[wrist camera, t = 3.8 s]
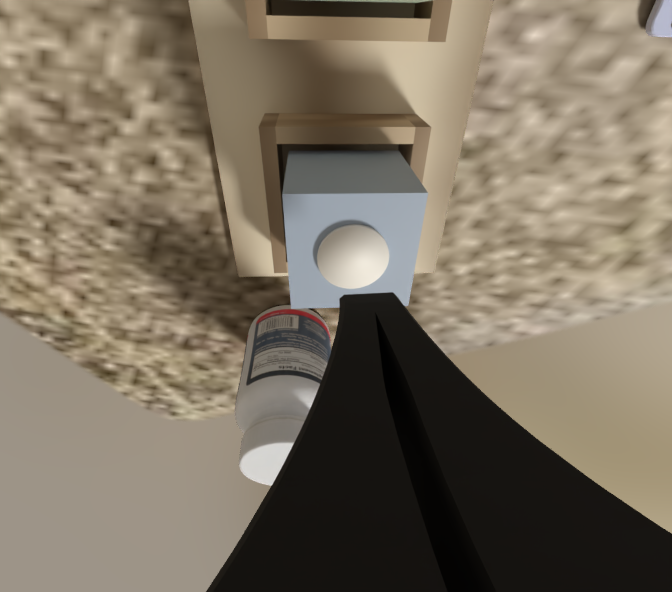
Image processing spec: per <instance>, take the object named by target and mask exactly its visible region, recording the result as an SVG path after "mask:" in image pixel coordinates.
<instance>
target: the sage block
mask: <svg viewBox="0 0 672 592" xmlns="http://www.w3.org/2000/svg"><path fill="white" fill-rule="evenodd" d="M306 1H350V2H393V3H419V2H425V1H432V0H306Z"/></svg>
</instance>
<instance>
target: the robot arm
mask: <svg viewBox="0 0 672 592" xmlns="http://www.w3.org/2000/svg"><path fill="white" fill-rule="evenodd" d="M671 23H672V0H656V2H655V4H654V6H653V9H652V11H651V13H650V16H649V18H648V20H647V23H646V33H647V34H648V35H649V36H652V37H672V27H671ZM339 304H340V314H339V321H338V326H337V331H336V335H335V339H334V343H333V346H332V350H331V354H330V357H329V360H328V363H327V366H326V369H325V372H324V374H323V377H322V380H321V383H320V386H319V388H318V391H317V393H316V396H315V398H314V401H313V403H312V406H311V408H310V410H309V413H308V415H307V417H306V419H305V421H304V424H303V426H302V428H301V430H300V432H299V434H298V436H297V438H296V440H295V442H294V444H293V446H292V448H291V450H290V452H289V454H288V456H287V458H286V460H285V462H284V464H283V466H282V468H281V470H280V471H279V473H278V475H277V477H276V479H275V481H274V482H273V484H272V486H271V488H270V490H269V491H268V493H267V495H266V496H265V498H264V500H263V501H262V503H261V505H260V507H259V508H258V510H257V512H256V513H255V515H254V517H253V519H252V520H251V522H250V523H249V525H248V527H247V529H246V530H245V532H244V534H243V535H242V537H241V539H240V540H239V542H238V544H237V545H236V547H235V548H234V550H233V552H232V553H231V555H230V556H229V558H228V559H227V561H226V562H225V564H224V565H223V567H222V568H221V570H220V571H219V573H218V575H217V576H216V578H215V579H214V580H213V582H212V584H211V585H210V587H209V588H208V590H207V591H206V592H672V534H671V533H670V532H668V531H666V530H665V529H663V528H662V527H660V526H659V525H657V524H656V523H654V522H653V521H651V520H650V519H648V518H647V517H645V516H643V515H642V514H641V513H639V512H638V511H636V510H635V509H633V508H632V507H630V506H629V505H627V504H626V503H624V502H623V501H622V500H620V499H619V498H617V497H616V496H614V495H613V494H611V493H609V492H608V491H607V490H605V489H604V488H602V487H601V486H600V485H598V484H597V483H595V482H594V481H592V480H591V479H590V478H588V477H587V476H586V475H584V474H583V473H582V472H580V471H579V470H578V469H576V468H575V467H574V466H572V465H571V464H570V463H568V462H567V461H566V460H564V459H563V458H561V457H560V456H559V455H557V454H556V453H555V452H554V451H552V450H551V449H550V448H548V447H547V446H546V445H544V444H543V443H542V442H540V441H539V440H538V439H536V438H535V437H534V436H533V435H531V434H530V433H529V432H528V431H527V430H525V429H524V428H523V427H522V426H520V425H519V424H518V423H517V422H516V421H514V420H513V419H512V418H511V417H510V416H509V415H507V414H506V413H505V412H504V411H503V410H501V408H499V407H498V406H497V405H496V404H495V403H494V402H493V401H492V400H490V399H489V398H488V397H487V396H486V395H485V394H484V393H483V392H482V391H481V390H480V389H479V388H477V386H476V385H474V384H473V383H472V382H471V381H470V380H469V379H468V378H467V377H466V376H465V375H464V374H463V373H462V372H461V371H460V370H459V369H458V368H457V367H456V366H455V365H454V363H453V362H452V361H451V360H450V359H449V358H448V357H447V356H446V355H445V354H444V353H443V351H442V350H441V349H440V348H439V347H438V346H437V345H436V344H435V343H434V341H433V340H432V339H431V338H430V337H429V336H428V335H427V333H426V332H425V331H424V330H423V329H422V328H421V326H420V325H419V324H418V323H417V321H416V320H415V319H414V318H413V316H412V315H411V314H410V313H409V311H408V310H407V309H406V308H405V306H404V305H403V304H402V302H401V301H400V300H399V298H398V297H397V296H396V295H395V294H394V293H393V292H388V293H367V294H347V295H343V296H342V297H341V298H340V299H339Z"/></svg>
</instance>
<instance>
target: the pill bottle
mask: <svg viewBox="0 0 672 592" xmlns="http://www.w3.org/2000/svg"><path fill="white" fill-rule="evenodd" d="M330 354H331V342H330V333H329V329H328V326H327V324H326V323H325V321H324V320H323V319H322V318H321V317H320V316H319V315H318V314H317V313H315V312H314V311H312V310H310V309H307V308H302V309H291V305H281V306H276V307H273V308H270V309H268V310H266V311H264V312H262V313H261V314H260V315H258V316H257V317H256V319H255V320H254V321H253V322H252V324H251V326H250V329H249V332H248V337H247V343H246V348H245V355H244V361H243V367H242V372H241V377H240V383H239V388H238V392H237V397H236V404H235V419H236V422H237V424H238V426H239V428H240V429H241V431H242V432H243V433H244V435H243V438H242V441H241V450H240V458H239V467H240V469H241V471H242V473H243V474H244V475H245V476H246V477H248V478H249V479H251V480H253V481H255V482H258V483H261V484H266V485H272V484H273V482H274V481H275V479H276V477H277V475H278V473H279V471H280V470H281V468H282V466H283V464H284V462H285V460H286V458H287V456H288V454H289V452H290V450H291V448H292V446H293V444H294V442H295V440H296V438H297V436H298V434H299V432H300V430H301V428H302V426H303V424H304V421H305V419H306V417H307V415H308V413H309V410H310V408H311V406H312V403H313V401H314V398H315V396H316V393H317V391H318V388H319V386H320V383H321V380H322V377H323V374H324V372H325V369H326V366H327V363H328V360H329V357H330Z"/></svg>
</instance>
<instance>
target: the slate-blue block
mask: <svg viewBox="0 0 672 592" xmlns="http://www.w3.org/2000/svg"><path fill="white" fill-rule="evenodd" d="M427 197H428V192H427V190H426V189H425V188H424V186H423V185H422V183H421V182H420V180H419V179H418V178H417V176H416V175H415V173H414V172H413V170H412V169H411V167H410V166H409V165H408V163H407V162H406V160H405V159H404V157H403V156H402V155H401V153H400V152H399V150H315V151H289V152H288V159H287V165H286V172H285V179H284V185H283V192H282V198H283V211H284V224H285V236H286V249H287V262H288V275H289V288H290V301H291V309H302V308H339V307H340V304H339V299H340V298H341V297H342V296H343V295H347V294H367V293H388V292H393V293H394V294H395V295H396V296H397V297H398V298H399V300H400V301H401V302H402V304H403V305H404V306H408V304H409V298H410V293H411V287H412V281H413V276H414V270H415V264H416V259H417V253H418V248H419V242H420V236H421V231H422V225H423V219H424V214H425V208H426V203H427Z"/></svg>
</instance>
